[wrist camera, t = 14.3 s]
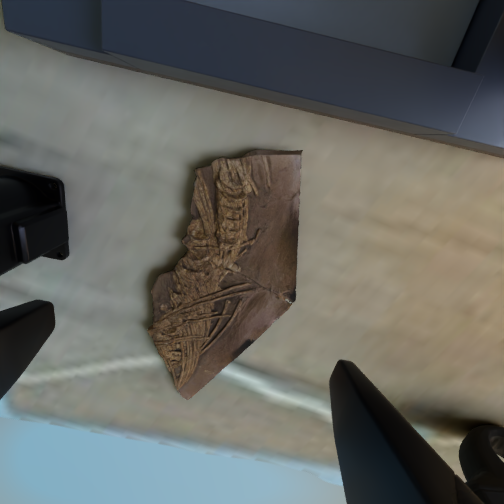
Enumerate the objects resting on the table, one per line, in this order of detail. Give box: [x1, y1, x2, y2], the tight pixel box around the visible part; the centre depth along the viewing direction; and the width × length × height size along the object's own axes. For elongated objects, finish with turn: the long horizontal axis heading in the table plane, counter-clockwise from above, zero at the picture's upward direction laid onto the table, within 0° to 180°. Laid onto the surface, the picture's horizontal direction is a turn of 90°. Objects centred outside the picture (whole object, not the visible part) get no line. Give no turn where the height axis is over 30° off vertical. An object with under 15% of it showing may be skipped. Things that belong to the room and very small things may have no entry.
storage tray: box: [1, 0, 504, 158], centre depth 13 cm, size 30×9×6 cm, turn 78°
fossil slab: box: [147, 150, 303, 400], centre depth 23 cm, size 26×11×1 cm, turn 155°
